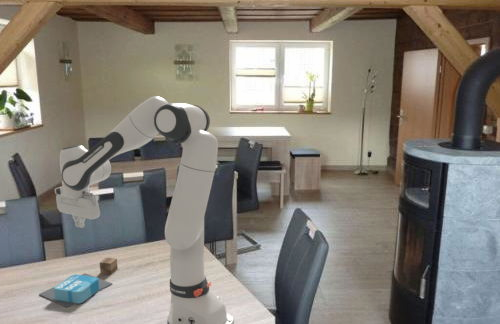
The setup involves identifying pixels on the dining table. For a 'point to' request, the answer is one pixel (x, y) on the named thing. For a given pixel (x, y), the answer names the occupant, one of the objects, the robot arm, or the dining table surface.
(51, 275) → the dining table surface
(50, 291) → the mat
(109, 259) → the walnut cube
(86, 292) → the data package
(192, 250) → the robot arm
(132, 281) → the dining table surface
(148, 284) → the dining table surface
